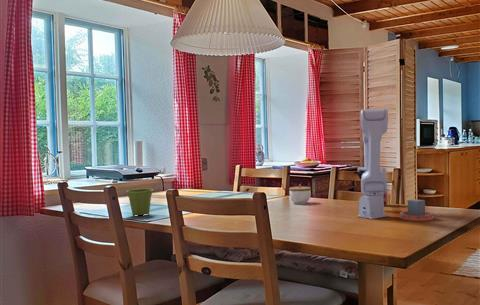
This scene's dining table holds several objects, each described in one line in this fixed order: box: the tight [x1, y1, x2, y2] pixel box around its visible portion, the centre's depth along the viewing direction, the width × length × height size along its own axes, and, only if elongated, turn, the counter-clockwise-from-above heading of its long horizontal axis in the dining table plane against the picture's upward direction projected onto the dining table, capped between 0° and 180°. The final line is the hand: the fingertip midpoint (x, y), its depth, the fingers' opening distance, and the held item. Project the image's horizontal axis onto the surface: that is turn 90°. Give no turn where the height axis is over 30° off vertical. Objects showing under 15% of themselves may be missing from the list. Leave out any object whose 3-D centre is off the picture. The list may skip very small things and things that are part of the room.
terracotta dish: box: [399, 210, 434, 222], centre depth 180 cm, size 12×12×2 cm
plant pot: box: [125, 188, 154, 216], centre depth 208 cm, size 12×12×11 cm
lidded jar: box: [288, 183, 312, 205], centre depth 231 cm, size 11×11×9 cm
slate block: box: [407, 198, 426, 215], centre depth 180 cm, size 4×4×6 cm
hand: (371, 189), depth 202 cm, fingers open, 7 cm apart
